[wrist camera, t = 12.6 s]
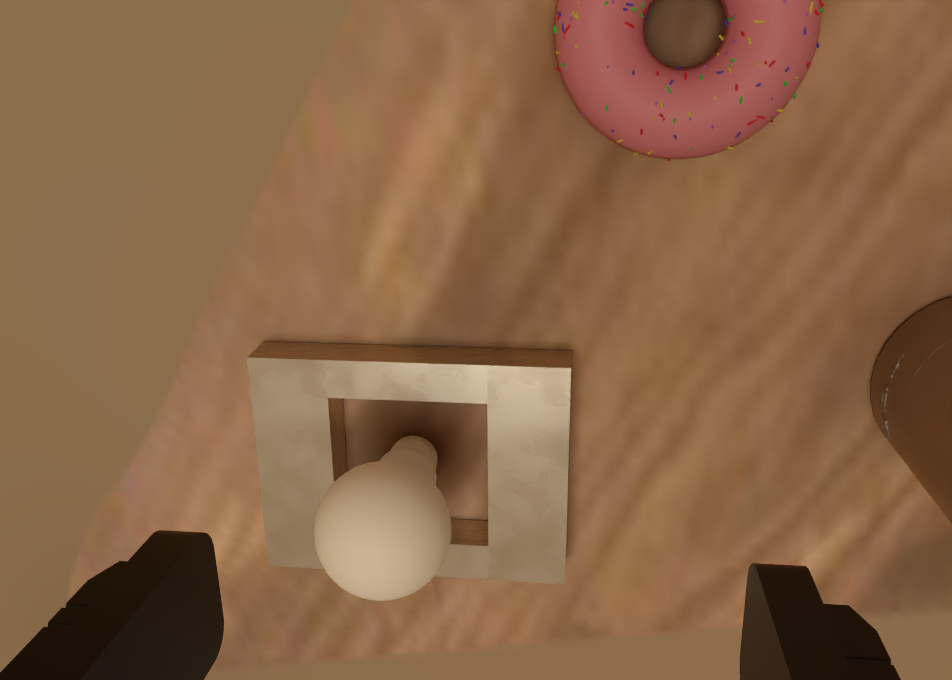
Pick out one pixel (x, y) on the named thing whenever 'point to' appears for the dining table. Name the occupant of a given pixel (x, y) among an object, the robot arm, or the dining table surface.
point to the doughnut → (683, 74)
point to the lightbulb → (385, 524)
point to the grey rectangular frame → (431, 380)
